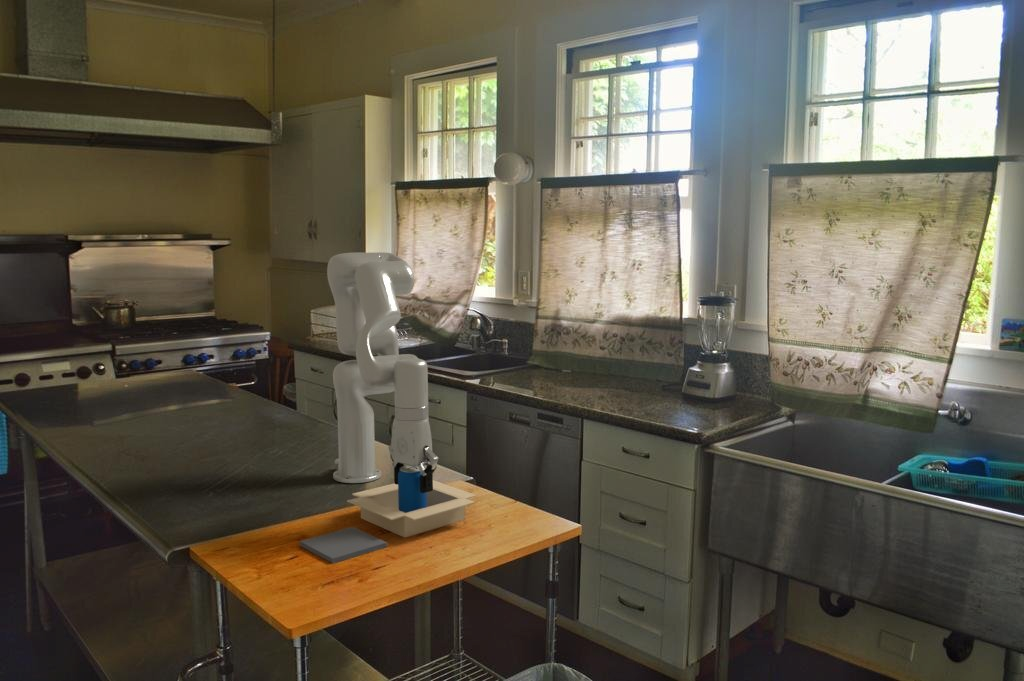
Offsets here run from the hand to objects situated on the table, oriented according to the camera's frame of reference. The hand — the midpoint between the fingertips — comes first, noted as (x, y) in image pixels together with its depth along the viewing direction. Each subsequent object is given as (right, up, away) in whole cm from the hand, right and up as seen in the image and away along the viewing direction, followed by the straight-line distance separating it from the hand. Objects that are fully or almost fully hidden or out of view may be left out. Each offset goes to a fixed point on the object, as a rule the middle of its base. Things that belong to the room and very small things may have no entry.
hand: (413, 487), depth 196 cm
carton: (0, -7, +1) cm, 8 cm away
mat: (-13, -10, -16) cm, 22 cm away
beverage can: (0, -8, +2) cm, 8 cm away
